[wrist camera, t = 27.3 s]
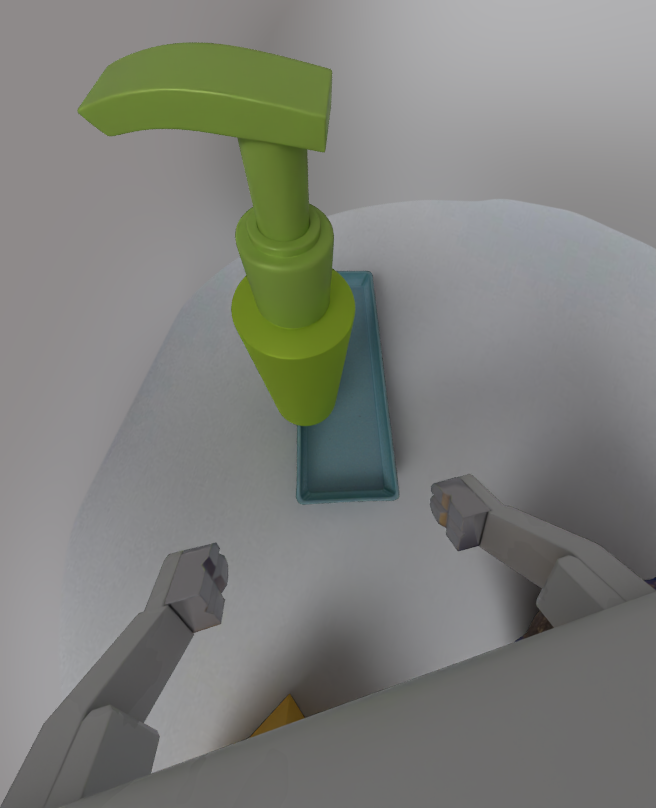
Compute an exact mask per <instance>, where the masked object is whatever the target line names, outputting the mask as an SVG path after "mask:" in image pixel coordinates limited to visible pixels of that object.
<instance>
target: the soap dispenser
mask: <svg viewBox="0 0 656 808" xmlns="http://www.w3.org/2000/svg"><path fill="white" fill-rule="evenodd" d="M331 92H332V70H331V69H328V68H325V67H321V66H317V65H314V64H310V63H306V62H302V61H298V60H295V59H291V58H287V57H283V56H279V55H275V54H271V53H266V52H262V51H257V50H253V49H248V48H242V47H236V46H230V45H223V44H214V43H175V44H167V45H161V46H156V47H152V48H148V49H145V50H142V51H139V52H136V53H133V54H130V55H128V56H125V57H123V58H121V59H119V60H117V61H115V62H113V63H112V64H110V65H109V66H108V67H107V68H106V69H105V71H104V72H103V74H102V75H101V76H100V78H99V79H98V81H97V82H96V84H95V85H94V86H93V88H92V89H91V91H90V92H89V94H88V95H87V97H86V98H85V99H84V101H83V102H82V104H81V105H80V107H79V108H78V113H79V114H80V115H81V116H82V117H84V118H85V119H86V120H87V121H88V122H90V123H91V124H92V125H93V126H95V127H96V128H97V129H99V130H100V131H102V132H103V133H104V134H106V135H107V136H116V135H121V134H125V133H130V132H134V131H140V130H149V129H182V130H192V131H200V132H208V133H214V134H219V135H225V136H231V137H237V138H238V142H239V147H240V151H241V155H242V160H243V164H244V168H245V173H246V177H247V181H248V186H249V190H250V194H251V199H252V203H253V207H252V208H251V209H249V210H248V211H247V212H246V213H245V214H244V215H243V216H242V217H241V219H240V221H239V222H238V225H237V228H236V232H235V238H236V245H237V248H238V251H239V254H240V257H241V260H242V263H243V266H244V269H245V272H246V276H245V277H244V279H243V280H242V281H241V282H240V284H239V285H238V287H237V289H236V291H235V293H234V296H233V299H232V306H231V311H232V318H233V322H234V325H235V327H236V329H237V331H238V333H239V335H240V337H241V339H242V341H243V343H244V345H245V347H246V349H247V351H248V352H249V354H250V356H251V358H252V360H253V362H254V364H255V366H256V368H257V370H258V372H259V374H260V375H261V377H262V379H263V381H264V383H265V385H266V387H267V389H268V391H269V393H270V395H271V397H272V398H273V400H274V402H275V404H276V406H277V408H278V410H279V412H280V413H281V415H282V416H283V417H284V418H285V419H286V420H288V421H289V422H291V423H293V424H296V425H300V426H311V425H315V424H318V423H320V422H322V421H323V420H325V419H326V418H327V417H328V416H329V415H330V414H331V412H332V411H333V409H334V406H335V402H336V398H337V393H338V389H339V384H340V380H341V375H342V371H343V366H344V362H345V357H346V353H347V348H348V344H349V339H350V335H351V330H352V326H353V321H354V317H355V300H354V296H353V293H352V291H351V288H350V287H349V285H348V283H347V282H346V281H345V279H344V278H343V277H342V276H341V275H340V274H339V273H338V272H336V271H335V270H334V269H332V261H333V247H334V234H333V228H332V225H331V223H330V221H329V219H328V218H327V217H326V215H325V214H324V213H323V212H321V211H320V210H319V209H318V208H316V207H315V206H313V205H311V204H309V194H308V165H307V163H308V162H307V149H308V150H314V151H319V152H325V149H326V141H327V133H328V124H329V116H330V109H331Z"/></svg>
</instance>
